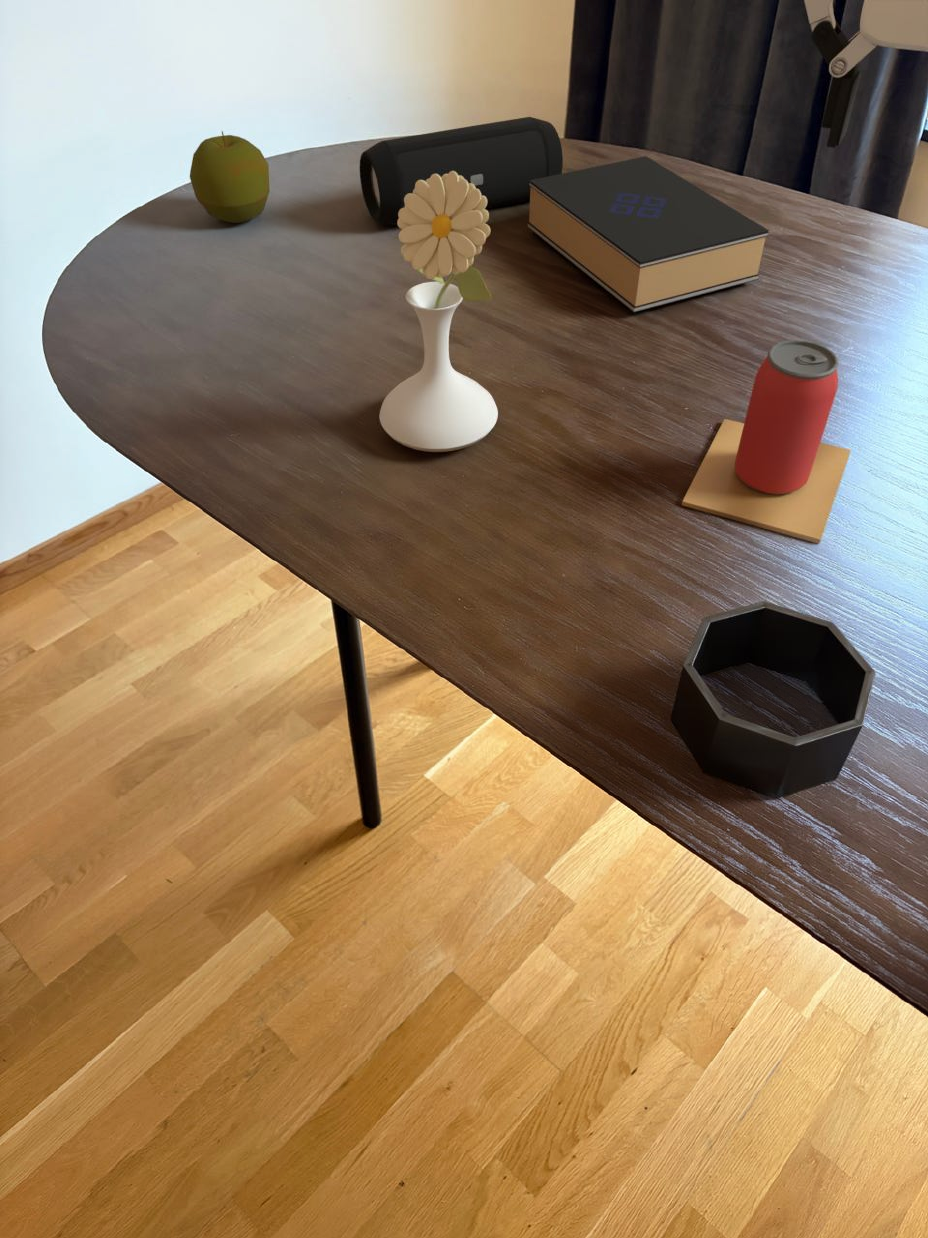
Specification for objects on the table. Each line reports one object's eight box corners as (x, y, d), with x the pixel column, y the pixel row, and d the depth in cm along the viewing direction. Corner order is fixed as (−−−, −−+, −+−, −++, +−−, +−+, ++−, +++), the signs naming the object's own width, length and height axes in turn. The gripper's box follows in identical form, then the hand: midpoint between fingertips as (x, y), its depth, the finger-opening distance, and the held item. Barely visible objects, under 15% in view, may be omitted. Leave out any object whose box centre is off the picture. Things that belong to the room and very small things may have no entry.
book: (639, 207, 126) (646, 155, 121) (757, 285, 110) (769, 230, 106) (526, 232, 121) (528, 179, 116) (633, 319, 105) (640, 262, 101)
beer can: (815, 498, 82) (855, 378, 74) (740, 498, 82) (771, 379, 74) (798, 453, 87) (833, 335, 78) (727, 453, 87) (754, 336, 78)
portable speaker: (385, 241, 120) (379, 159, 112) (360, 211, 126) (353, 132, 119) (563, 206, 126) (568, 127, 119) (531, 180, 133) (534, 103, 126)
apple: (188, 230, 123) (168, 141, 115) (217, 200, 129) (200, 114, 121) (260, 237, 121) (245, 147, 113) (286, 206, 127) (273, 119, 120)
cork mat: (849, 454, 88) (851, 449, 87) (819, 544, 79) (820, 539, 79) (723, 422, 91) (724, 418, 91) (681, 505, 83) (682, 501, 82)
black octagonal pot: (858, 693, 68) (884, 637, 63) (826, 819, 61) (853, 765, 56) (701, 642, 71) (716, 586, 67) (654, 755, 64) (667, 700, 60)
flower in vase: (358, 422, 92) (329, 155, 74) (450, 382, 97) (444, 123, 79) (436, 487, 85) (425, 210, 67) (532, 441, 89) (546, 170, 71)
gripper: (1212, -210, 47) (1064, 150, 59) (858, -214, 53) (789, 116, 65) (1222, -195, 42) (1060, 192, 55) (832, -202, 48) (763, 151, 60)
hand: (913, 150), depth 60 cm, fingers open, 9 cm apart
